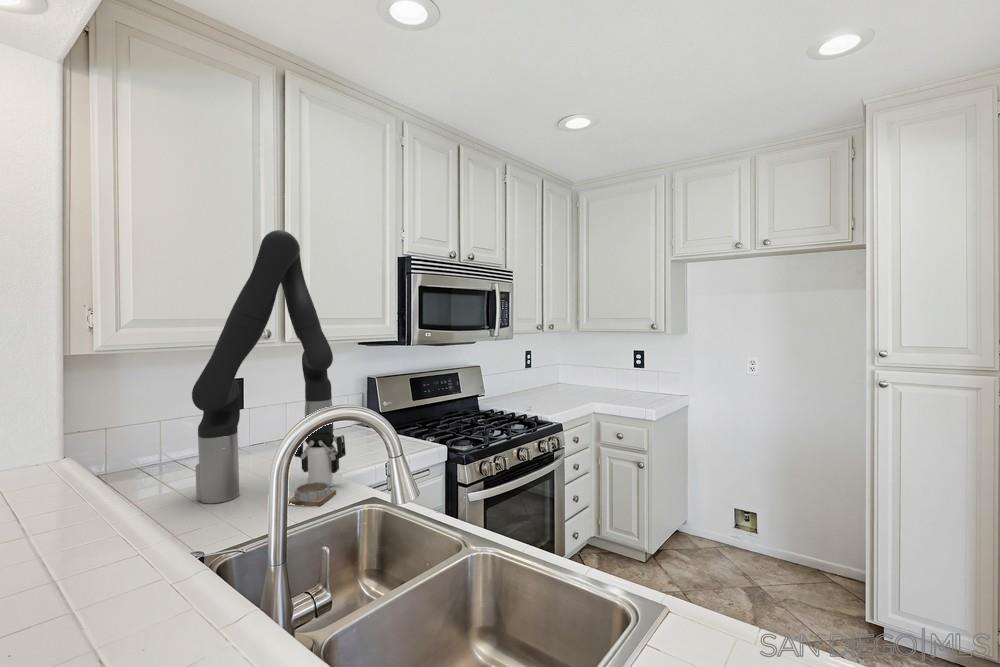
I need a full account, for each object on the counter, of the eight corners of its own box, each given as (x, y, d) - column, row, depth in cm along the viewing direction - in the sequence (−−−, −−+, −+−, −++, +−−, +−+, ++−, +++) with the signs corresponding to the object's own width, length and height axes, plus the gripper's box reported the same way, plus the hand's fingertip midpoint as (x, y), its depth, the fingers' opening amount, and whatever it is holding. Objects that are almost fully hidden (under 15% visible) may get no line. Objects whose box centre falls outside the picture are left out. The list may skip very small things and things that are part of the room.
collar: (288, 500, 125) (288, 493, 125) (305, 489, 134) (305, 481, 134) (319, 501, 124) (319, 494, 124) (335, 490, 133) (335, 482, 132)
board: (287, 505, 125) (287, 500, 125) (305, 493, 134) (305, 488, 134) (319, 506, 124) (319, 502, 124) (336, 494, 133) (335, 489, 133)
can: (324, 491, 135) (323, 448, 135) (303, 489, 137) (302, 447, 136) (337, 483, 142) (336, 442, 141) (316, 482, 143) (315, 441, 143)
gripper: (288, 417, 136) (290, 475, 136) (336, 418, 134) (338, 476, 134) (302, 412, 143) (304, 467, 144) (348, 413, 141) (350, 468, 142)
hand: (320, 471), depth 139 cm, fingers open, 8 cm apart
